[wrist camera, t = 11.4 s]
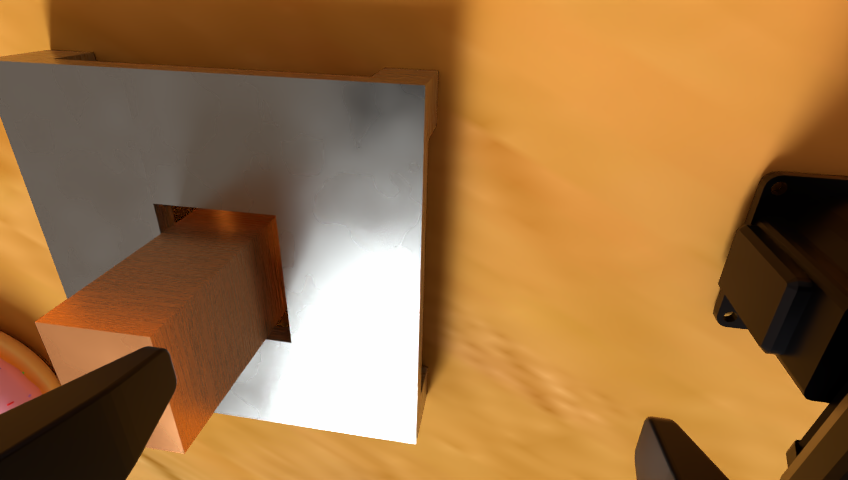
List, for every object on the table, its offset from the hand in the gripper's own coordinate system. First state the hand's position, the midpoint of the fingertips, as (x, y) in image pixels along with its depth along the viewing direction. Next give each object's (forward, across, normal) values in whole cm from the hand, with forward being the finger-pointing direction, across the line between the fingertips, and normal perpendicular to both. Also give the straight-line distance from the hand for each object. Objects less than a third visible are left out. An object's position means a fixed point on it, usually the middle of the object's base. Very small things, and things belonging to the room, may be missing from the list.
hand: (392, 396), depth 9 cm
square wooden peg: (+12, +9, +4) cm, 15 cm away
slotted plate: (+12, +9, +4) cm, 16 cm away
